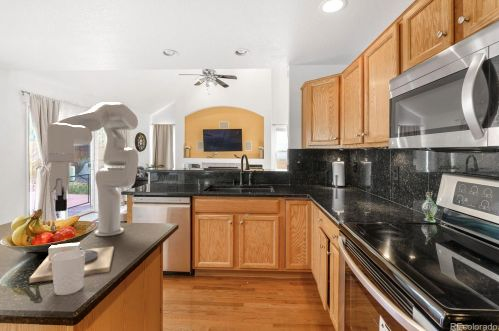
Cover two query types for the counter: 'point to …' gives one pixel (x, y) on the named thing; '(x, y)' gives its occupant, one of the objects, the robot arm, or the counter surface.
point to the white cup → (68, 271)
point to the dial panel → (95, 266)
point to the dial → (59, 248)
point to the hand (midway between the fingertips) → (61, 210)
